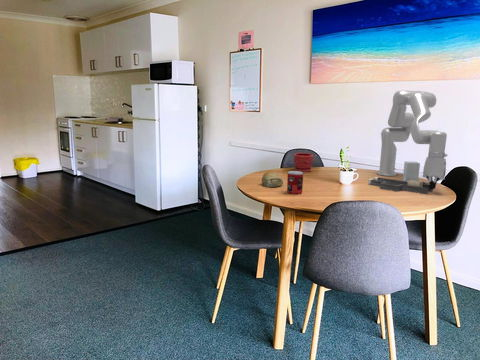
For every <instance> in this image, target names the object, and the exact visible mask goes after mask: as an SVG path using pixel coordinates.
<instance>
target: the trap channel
mask: <svg viewBox="0 0 480 360" xmlns="http://www.w3.org/2000/svg"><path fill="white" fill-rule="evenodd" d="M390 184H391V185H390ZM407 184H408V182H406V181H403V180H399V179H393V178H392V179H391V178H386V177H380V176H379V177H378V176H375V177H373V178H369V179H368V185H370V186H376V187H379V189H380V190H381V189H382V190H387V191H391V190H392V191H393V192H397V191H398V192H400V191H407V192H411V193H416V194H417V193H418V194H423V195H424V194H425V195H427V194H428V192H433V191H434V189H433V190H432V189H430V187H429V182H424V181H423V184H422V187H416V186H410V185H407Z"/></svg>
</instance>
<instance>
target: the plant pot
mask: <svg viewBox="0 0 480 360" xmlns="http://www.w3.org/2000/svg"><path fill="white" fill-rule="evenodd" d="M313 161H314V155H313V154H312V153H308V152H298V153H294V154H293V162H294V163H293V164H294V171H300V172H303V173H308V172H309V173H310V171H312V168H311V167H312V165H313Z"/></svg>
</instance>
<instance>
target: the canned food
mask: <svg viewBox="0 0 480 360" xmlns="http://www.w3.org/2000/svg"><path fill="white" fill-rule="evenodd" d="M286 179H287V182H286V183H287V184H286V186H287V187H286V192H287V193H288V194H290V195H301V194H302V193H303V188H304V187H303V186H304V172H300V171H296V170H289V171H287V178H286Z"/></svg>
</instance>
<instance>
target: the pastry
mask: <svg viewBox="0 0 480 360" xmlns="http://www.w3.org/2000/svg"><path fill="white" fill-rule="evenodd" d="M282 178H283V177H281V176H280V174H279V173H277V172H276V171H272V170H271V171H270V170H269V171H266V172H265V173H264V174H263V175H262V177H261V183H262V185H263V186H264V187H266V188H276V187H278V188H279V187H282V186H283V184H284V180H283V179H282Z"/></svg>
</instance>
